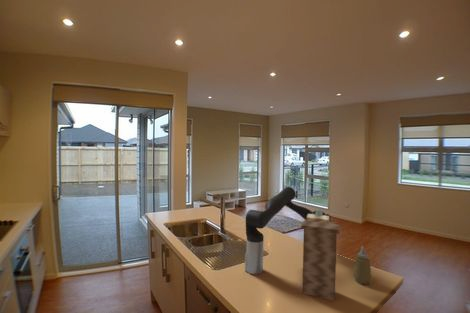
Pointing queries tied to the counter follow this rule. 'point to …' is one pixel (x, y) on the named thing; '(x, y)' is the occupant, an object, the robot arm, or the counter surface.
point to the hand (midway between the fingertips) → (319, 213)
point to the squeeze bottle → (362, 268)
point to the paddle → (318, 217)
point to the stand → (319, 259)
